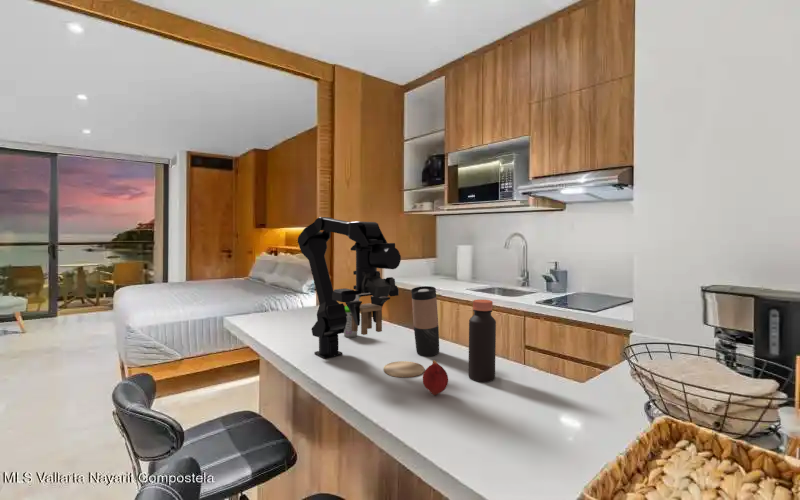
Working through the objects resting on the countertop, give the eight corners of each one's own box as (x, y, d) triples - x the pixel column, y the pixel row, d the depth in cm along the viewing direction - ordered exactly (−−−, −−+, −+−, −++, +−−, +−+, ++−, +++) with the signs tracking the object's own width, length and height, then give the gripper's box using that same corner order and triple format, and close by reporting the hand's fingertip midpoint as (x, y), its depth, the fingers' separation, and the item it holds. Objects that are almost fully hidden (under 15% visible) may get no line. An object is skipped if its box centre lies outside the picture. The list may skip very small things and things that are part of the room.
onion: (450, 391, 92) (450, 358, 92) (444, 401, 87) (445, 366, 87) (426, 388, 94) (426, 355, 94) (419, 397, 89) (419, 363, 88)
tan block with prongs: (351, 330, 109) (351, 305, 108) (369, 327, 112) (369, 303, 112) (363, 334, 104) (363, 308, 104) (381, 331, 108) (381, 306, 108)
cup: (336, 338, 139) (336, 296, 138) (343, 332, 146) (343, 292, 146) (358, 339, 137) (358, 296, 137) (363, 333, 145) (363, 293, 144)
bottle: (497, 375, 103) (498, 299, 102) (492, 384, 97) (493, 304, 96) (472, 371, 106) (473, 298, 105) (465, 379, 100) (466, 302, 99)
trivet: (375, 369, 108) (375, 366, 107) (405, 360, 115) (405, 358, 115) (401, 380, 99) (401, 378, 99) (432, 371, 106) (432, 368, 106)
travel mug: (441, 347, 125) (437, 285, 122) (438, 356, 118) (434, 291, 115) (418, 346, 127) (413, 286, 124) (413, 356, 119) (408, 292, 117)
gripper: (353, 271, 95) (353, 334, 96) (411, 267, 107) (411, 323, 108) (330, 268, 104) (331, 326, 105) (386, 265, 116) (386, 317, 116)
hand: (366, 323), depth 108 cm, fingers closed on tan block with prongs, 5 cm apart
